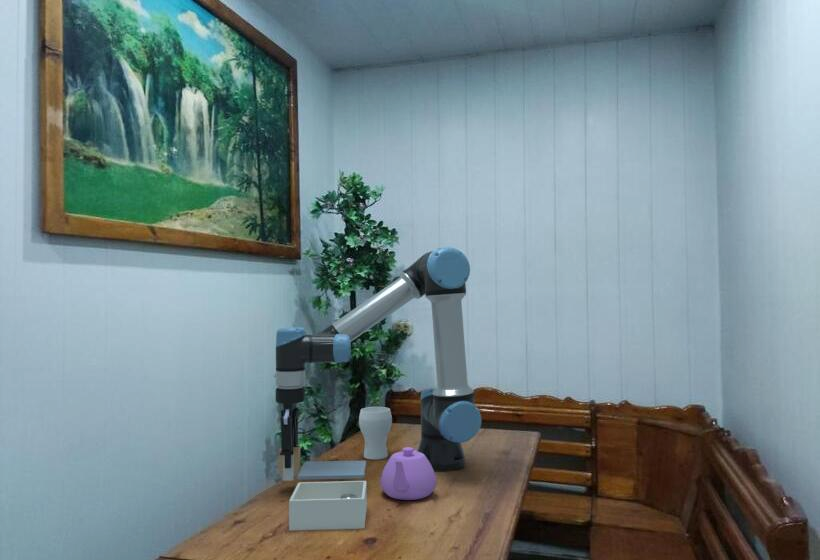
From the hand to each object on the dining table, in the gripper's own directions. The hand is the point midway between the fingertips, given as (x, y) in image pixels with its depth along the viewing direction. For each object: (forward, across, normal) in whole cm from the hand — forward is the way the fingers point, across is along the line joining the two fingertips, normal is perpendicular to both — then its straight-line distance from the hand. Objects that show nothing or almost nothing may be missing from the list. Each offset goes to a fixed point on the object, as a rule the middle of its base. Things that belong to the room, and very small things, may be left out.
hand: (289, 477), depth 139 cm
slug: (+3, +17, +16) cm, 24 cm away
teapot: (+4, +5, +30) cm, 31 cm away
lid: (-1, 0, +8) cm, 9 cm away
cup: (+4, -33, +22) cm, 40 cm away
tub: (+4, +19, +12) cm, 23 cm away
